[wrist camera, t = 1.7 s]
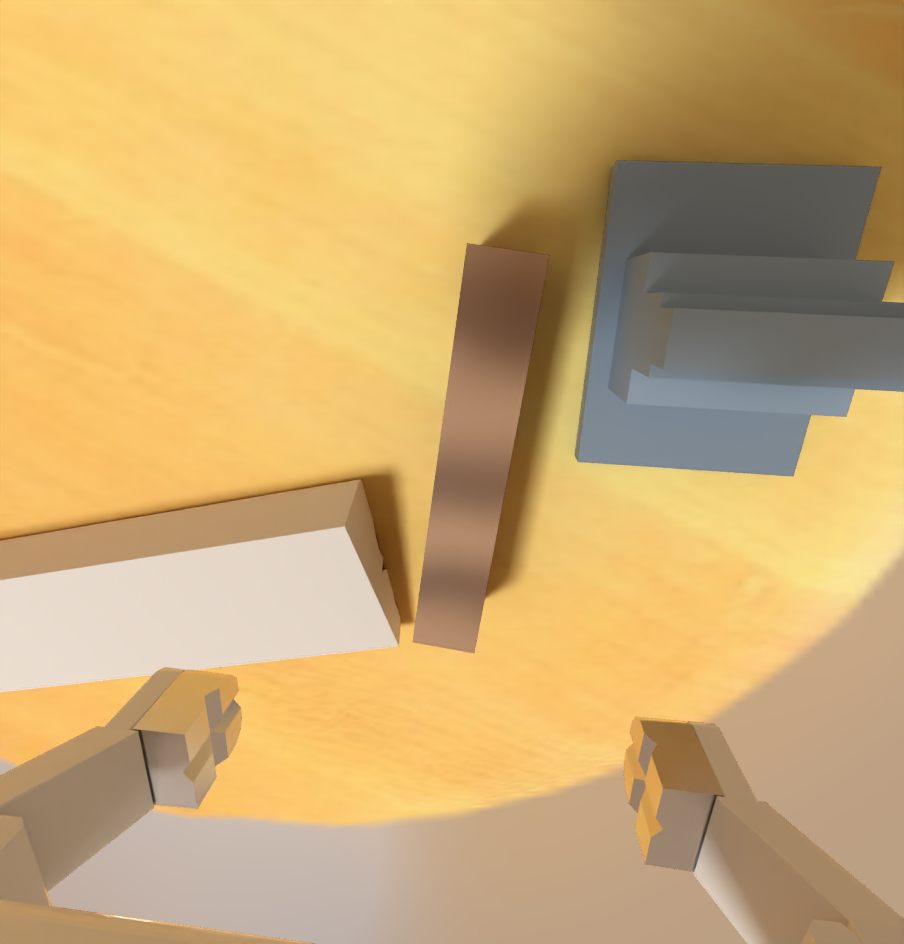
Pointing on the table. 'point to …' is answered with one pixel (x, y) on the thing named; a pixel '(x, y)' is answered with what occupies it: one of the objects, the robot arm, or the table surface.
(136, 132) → the table surface
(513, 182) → the table surface
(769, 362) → the gray stepped block
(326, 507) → the beige long block
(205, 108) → the table surface
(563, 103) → the table surface
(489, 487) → the walnut bar
